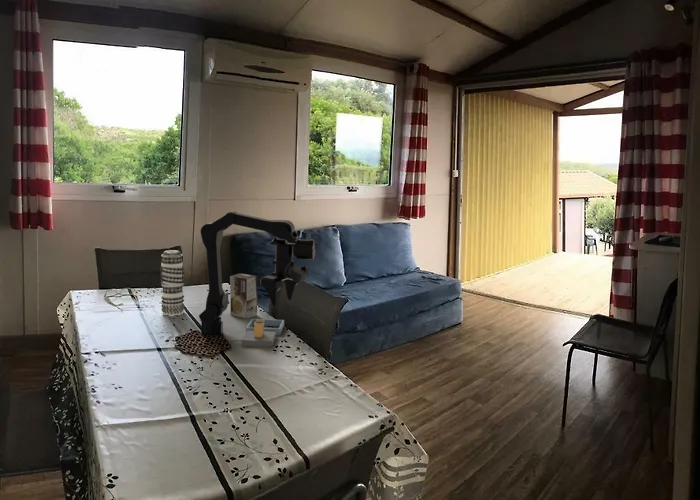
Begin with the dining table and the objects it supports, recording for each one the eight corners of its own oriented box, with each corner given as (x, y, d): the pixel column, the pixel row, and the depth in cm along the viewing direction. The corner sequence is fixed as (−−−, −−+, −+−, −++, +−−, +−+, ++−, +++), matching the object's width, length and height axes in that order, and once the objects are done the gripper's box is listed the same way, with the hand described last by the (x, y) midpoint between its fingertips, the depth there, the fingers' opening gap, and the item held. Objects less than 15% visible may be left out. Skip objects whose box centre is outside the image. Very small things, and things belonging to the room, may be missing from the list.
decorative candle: (156, 315, 210) (154, 252, 206) (167, 309, 219) (166, 248, 215) (178, 317, 209) (177, 253, 205) (189, 311, 218) (188, 250, 214)
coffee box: (257, 315, 215) (258, 275, 213) (246, 319, 210) (246, 278, 207) (241, 311, 220) (241, 272, 218) (229, 314, 215) (229, 275, 212)
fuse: (254, 343, 180) (254, 322, 179) (256, 339, 184) (256, 318, 183) (261, 343, 180) (262, 322, 179) (264, 339, 184) (264, 318, 183)
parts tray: (245, 336, 190) (245, 327, 189) (251, 326, 201) (251, 318, 200) (279, 337, 190) (280, 329, 189) (284, 327, 201) (284, 320, 200)
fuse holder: (241, 348, 177) (241, 340, 177) (247, 338, 187) (247, 330, 187) (271, 349, 177) (271, 341, 177) (276, 339, 187) (276, 331, 187)
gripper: (288, 265, 171) (286, 312, 173) (318, 257, 187) (316, 300, 190) (260, 260, 176) (258, 306, 178) (291, 253, 192) (289, 295, 195)
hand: (282, 302), depth 185 cm, fingers open, 9 cm apart
